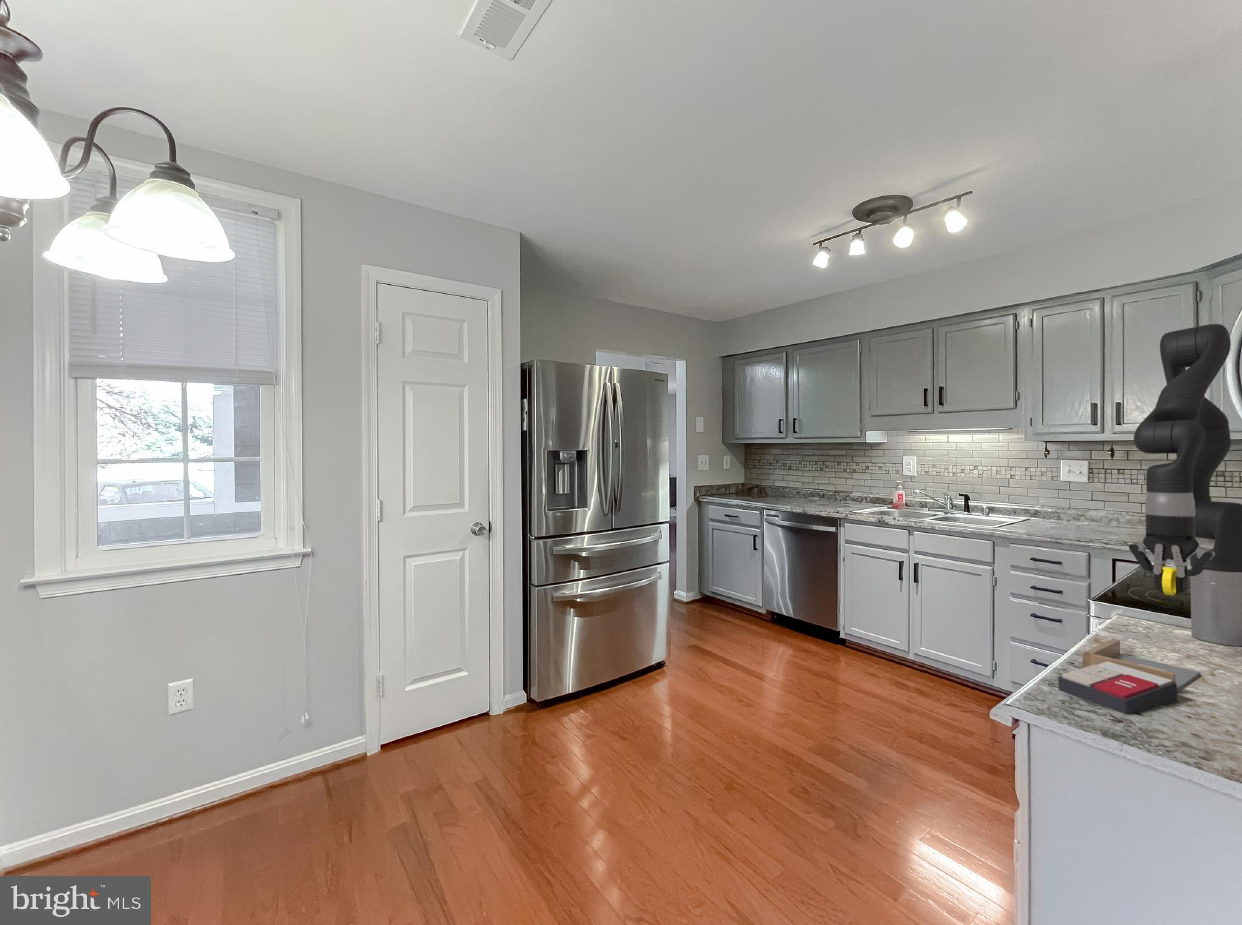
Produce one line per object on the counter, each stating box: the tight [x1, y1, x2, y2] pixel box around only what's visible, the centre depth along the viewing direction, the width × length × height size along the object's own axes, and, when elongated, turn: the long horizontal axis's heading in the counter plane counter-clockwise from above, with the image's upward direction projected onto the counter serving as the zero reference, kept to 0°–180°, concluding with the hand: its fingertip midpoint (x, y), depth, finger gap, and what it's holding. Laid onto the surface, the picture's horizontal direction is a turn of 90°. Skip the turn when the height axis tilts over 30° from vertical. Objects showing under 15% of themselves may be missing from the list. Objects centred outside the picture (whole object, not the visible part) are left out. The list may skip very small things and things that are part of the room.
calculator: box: [1057, 662, 1178, 715], centre depth 100 cm, size 11×4×15 cm
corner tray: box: [1082, 638, 1201, 692], centre depth 110 cm, size 16×14×4 cm
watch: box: [1162, 565, 1177, 596], centre depth 115 cm, size 6×3×6 cm, turn 121°
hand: (1171, 592), depth 115 cm, fingers closed on watch, 2 cm apart
